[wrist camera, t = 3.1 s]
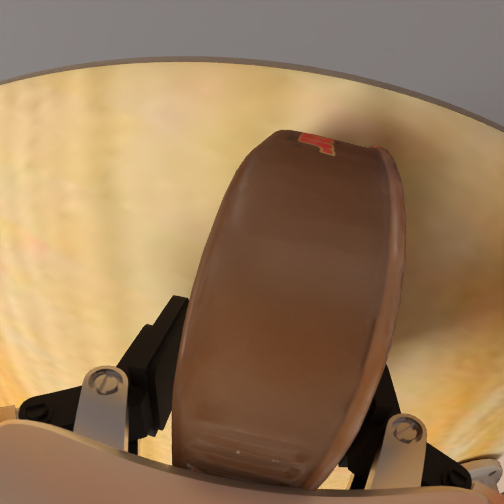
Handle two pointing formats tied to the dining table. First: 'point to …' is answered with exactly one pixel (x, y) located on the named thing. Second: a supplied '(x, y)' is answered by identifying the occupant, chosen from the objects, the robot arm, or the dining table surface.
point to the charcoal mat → (276, 41)
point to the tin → (290, 312)
